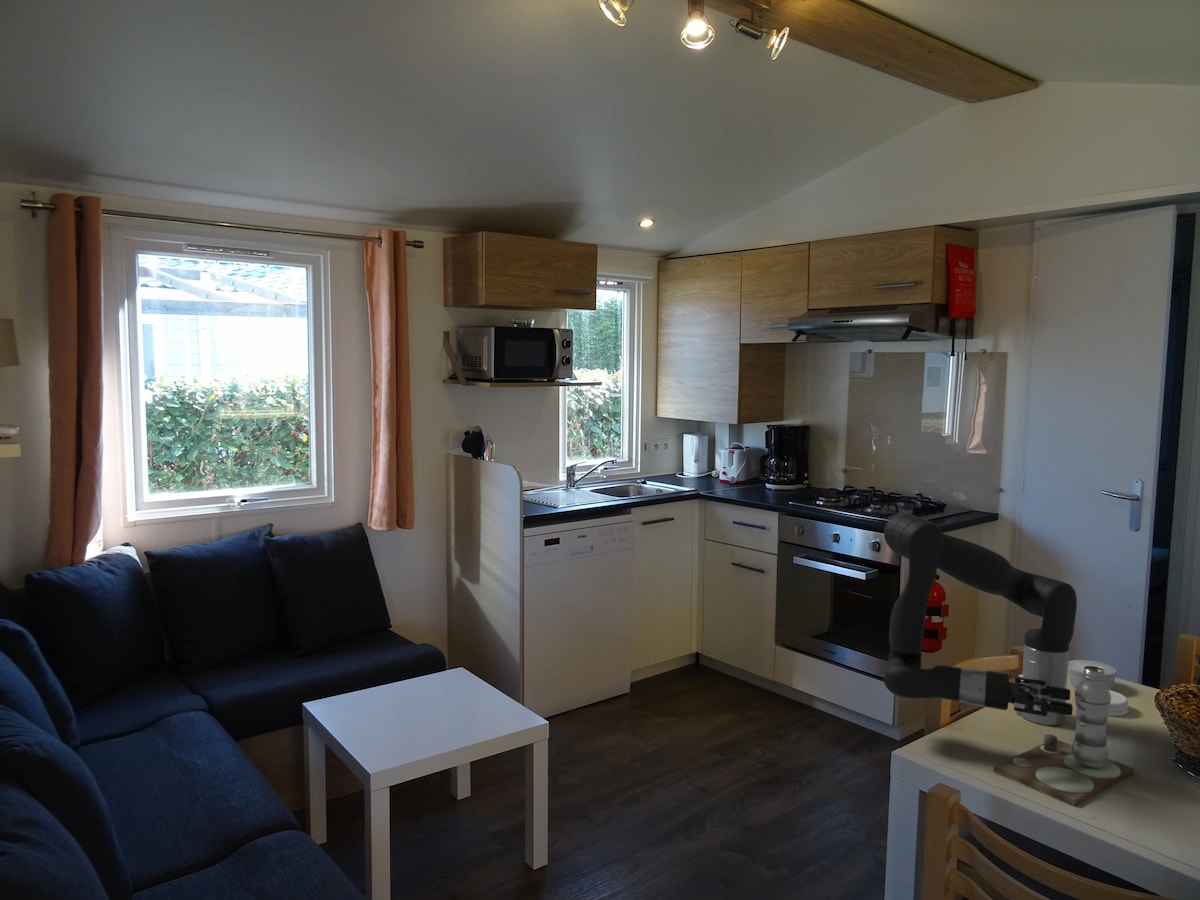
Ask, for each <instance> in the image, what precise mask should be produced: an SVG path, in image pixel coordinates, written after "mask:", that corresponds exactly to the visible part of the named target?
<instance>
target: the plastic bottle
mask: <svg viewBox="0 0 1200 900" xmlns="http://www.w3.org/2000/svg"><path fill="white" fill-rule="evenodd" d="M1104 672H1105V671H1104V669H1102V668H1100V667H1096V666H1085V667H1084V673H1083V677H1084V680H1083V681H1081V682H1080V683H1079V685H1078V686H1077V687H1075V689H1074V699H1075V708H1076V710H1075V711H1076V713H1075V715H1076V725H1075V733H1074V738H1073V741H1072V744H1071V745H1072V755H1073V757H1074V759H1075V761H1076V762H1077V763H1079V764H1081V765H1084V766H1087V767H1092V768H1100V767H1103V766H1104V765H1105V764H1106V763H1107V760H1108V759H1109V748H1108V743H1107V742H1108V740H1107V739H1108V738H1107V722H1108V717H1109V716H1108V711H1109V707H1110V702H1111V695H1110V692H1109V690H1108V688H1107V687H1106V685H1105V684H1104V683H1103V680H1105V677H1104Z"/></svg>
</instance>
